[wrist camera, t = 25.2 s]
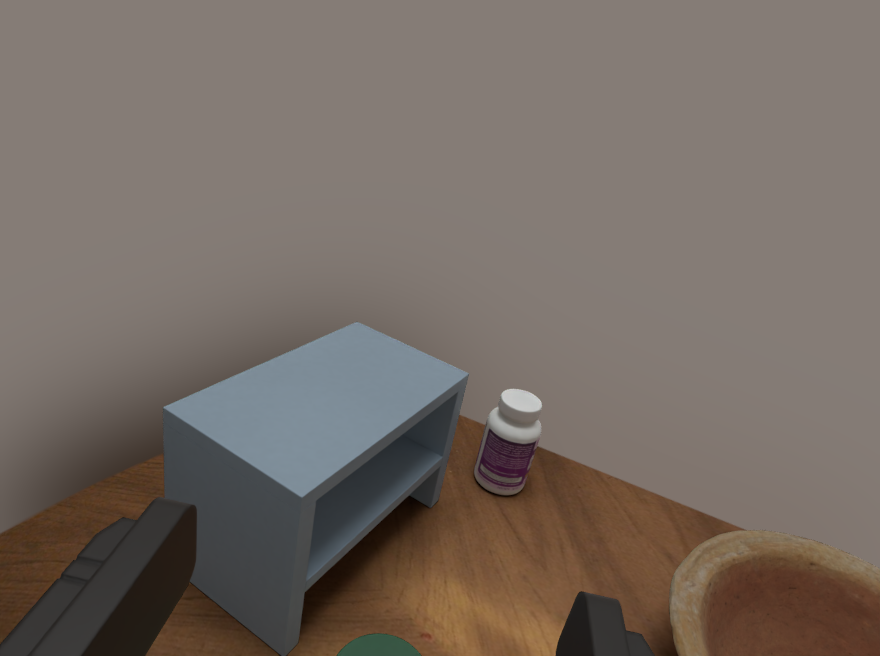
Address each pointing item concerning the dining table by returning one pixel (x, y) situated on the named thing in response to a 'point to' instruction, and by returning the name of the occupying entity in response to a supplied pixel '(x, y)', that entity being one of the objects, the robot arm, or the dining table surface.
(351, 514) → the shelf
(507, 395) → the pill bottle
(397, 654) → the spice bottle
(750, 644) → the bowl
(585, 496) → the dining table surface
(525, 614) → the dining table surface
